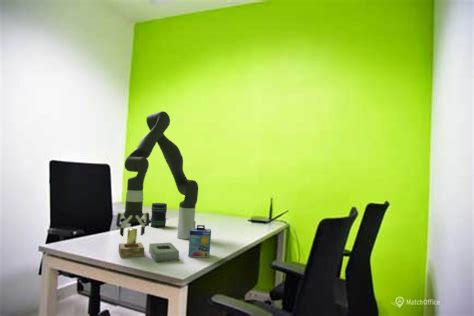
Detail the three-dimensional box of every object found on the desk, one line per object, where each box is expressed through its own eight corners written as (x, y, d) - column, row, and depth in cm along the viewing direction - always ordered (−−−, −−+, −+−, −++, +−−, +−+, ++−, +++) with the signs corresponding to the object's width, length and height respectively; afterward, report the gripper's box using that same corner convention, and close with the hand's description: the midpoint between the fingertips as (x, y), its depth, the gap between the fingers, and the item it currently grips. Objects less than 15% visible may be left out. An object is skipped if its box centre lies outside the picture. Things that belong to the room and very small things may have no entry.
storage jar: (147, 226, 208) (148, 203, 208) (159, 224, 215) (161, 202, 216) (156, 228, 201) (157, 205, 202) (168, 226, 209) (170, 204, 209)
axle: (135, 249, 146) (136, 228, 147) (136, 252, 143) (137, 229, 143) (126, 250, 145) (127, 228, 145) (126, 252, 141) (128, 230, 141)
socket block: (140, 249, 150) (141, 242, 150) (143, 255, 141) (144, 247, 141) (118, 251, 146) (118, 243, 146) (120, 257, 137) (120, 249, 137)
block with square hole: (170, 250, 151) (170, 242, 151) (178, 260, 137) (179, 251, 137) (148, 252, 147) (149, 243, 147) (155, 262, 133) (155, 252, 133)
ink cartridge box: (187, 257, 143) (189, 225, 143) (188, 253, 148) (190, 223, 149) (209, 257, 144) (211, 226, 144) (209, 254, 149) (211, 223, 150)
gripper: (148, 199, 151) (146, 233, 150) (117, 199, 145) (114, 234, 144) (151, 201, 144) (149, 236, 144) (118, 200, 138) (116, 238, 137)
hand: (132, 235), depth 144 cm, fingers open, 8 cm apart
